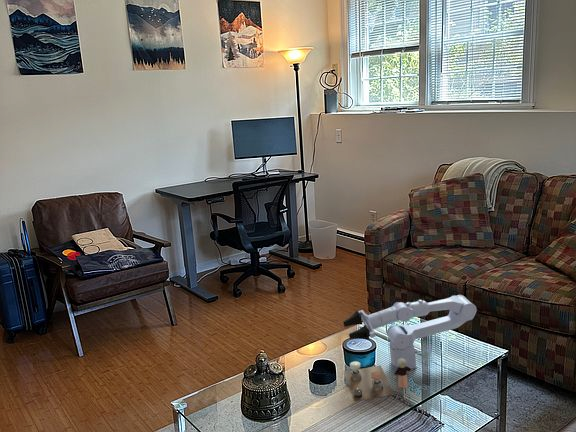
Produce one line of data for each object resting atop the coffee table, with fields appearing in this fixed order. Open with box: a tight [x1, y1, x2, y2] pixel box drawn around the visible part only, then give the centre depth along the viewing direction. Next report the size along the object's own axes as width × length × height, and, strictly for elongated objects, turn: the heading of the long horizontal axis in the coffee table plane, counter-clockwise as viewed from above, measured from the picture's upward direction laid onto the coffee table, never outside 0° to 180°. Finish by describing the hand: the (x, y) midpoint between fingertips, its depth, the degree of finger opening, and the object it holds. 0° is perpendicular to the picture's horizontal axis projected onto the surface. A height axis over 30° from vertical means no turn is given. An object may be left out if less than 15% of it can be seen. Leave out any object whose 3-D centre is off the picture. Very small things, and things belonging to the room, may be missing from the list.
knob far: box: [349, 361, 361, 373], centre depth 209 cm, size 4×4×4 cm
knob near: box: [371, 371, 382, 384], centre depth 201 cm, size 4×4×4 cm
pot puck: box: [354, 388, 362, 398], centre depth 198 cm, size 3×3×3 cm
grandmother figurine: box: [392, 358, 413, 389], centre depth 200 cm, size 8×4×13 cm, turn 117°
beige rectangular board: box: [343, 364, 396, 402], centre depth 206 cm, size 15×20×4 cm
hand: (346, 330), depth 210 cm, fingers open, 7 cm apart
